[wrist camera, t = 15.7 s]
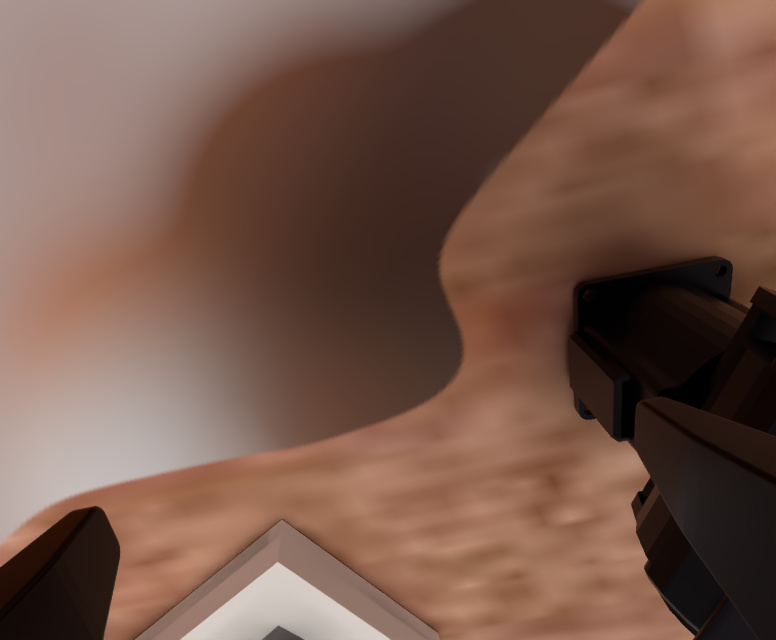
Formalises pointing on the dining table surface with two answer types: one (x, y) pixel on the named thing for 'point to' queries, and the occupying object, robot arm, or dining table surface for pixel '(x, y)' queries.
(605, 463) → the dining table surface
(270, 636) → the dark grey pillar
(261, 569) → the tray
